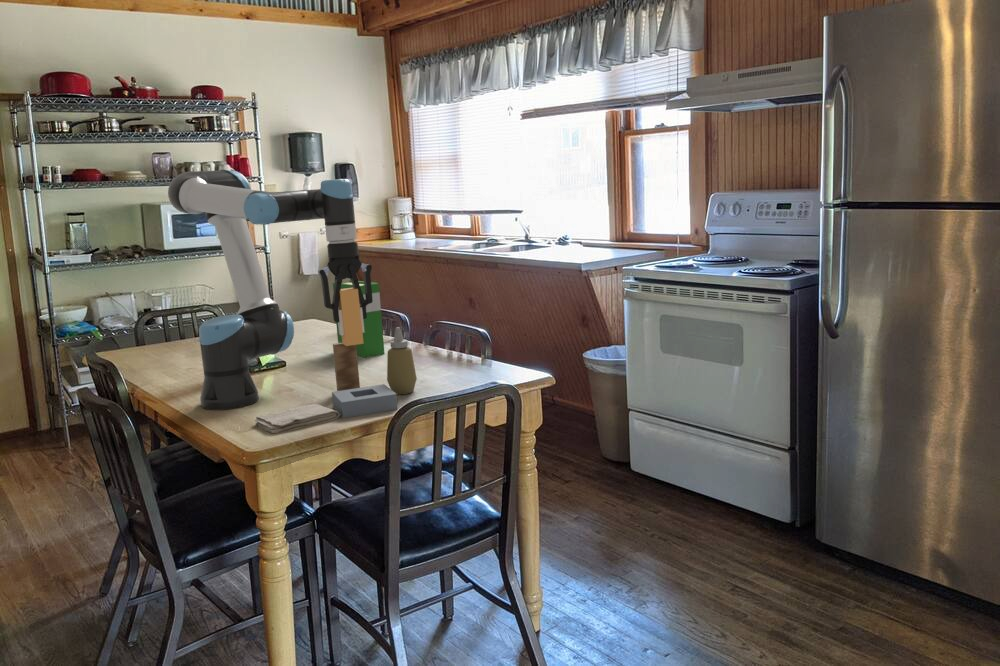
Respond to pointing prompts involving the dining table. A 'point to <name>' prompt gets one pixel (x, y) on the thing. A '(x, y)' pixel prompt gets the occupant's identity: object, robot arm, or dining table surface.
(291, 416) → the washcloth
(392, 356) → the squeeze bottle
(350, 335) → the square peg
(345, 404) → the socket block
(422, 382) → the dining table surface
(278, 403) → the dining table surface
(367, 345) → the green cereal box
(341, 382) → the brown wooden block
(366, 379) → the dining table surface
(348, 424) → the dining table surface
